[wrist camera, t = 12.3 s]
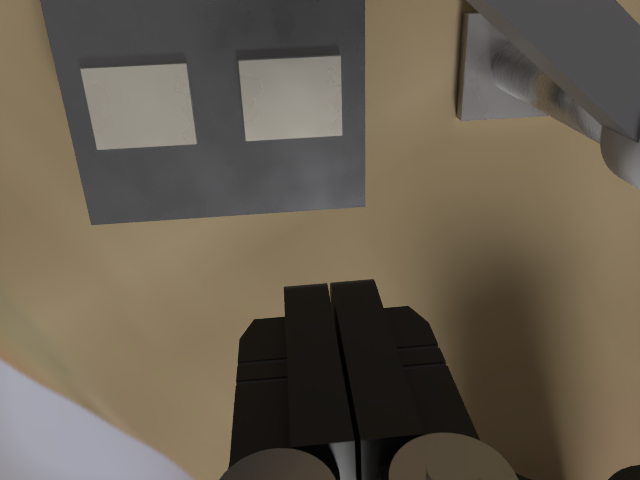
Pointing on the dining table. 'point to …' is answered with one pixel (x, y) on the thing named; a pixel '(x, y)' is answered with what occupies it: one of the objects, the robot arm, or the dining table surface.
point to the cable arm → (584, 63)
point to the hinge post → (510, 82)
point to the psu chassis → (212, 105)
